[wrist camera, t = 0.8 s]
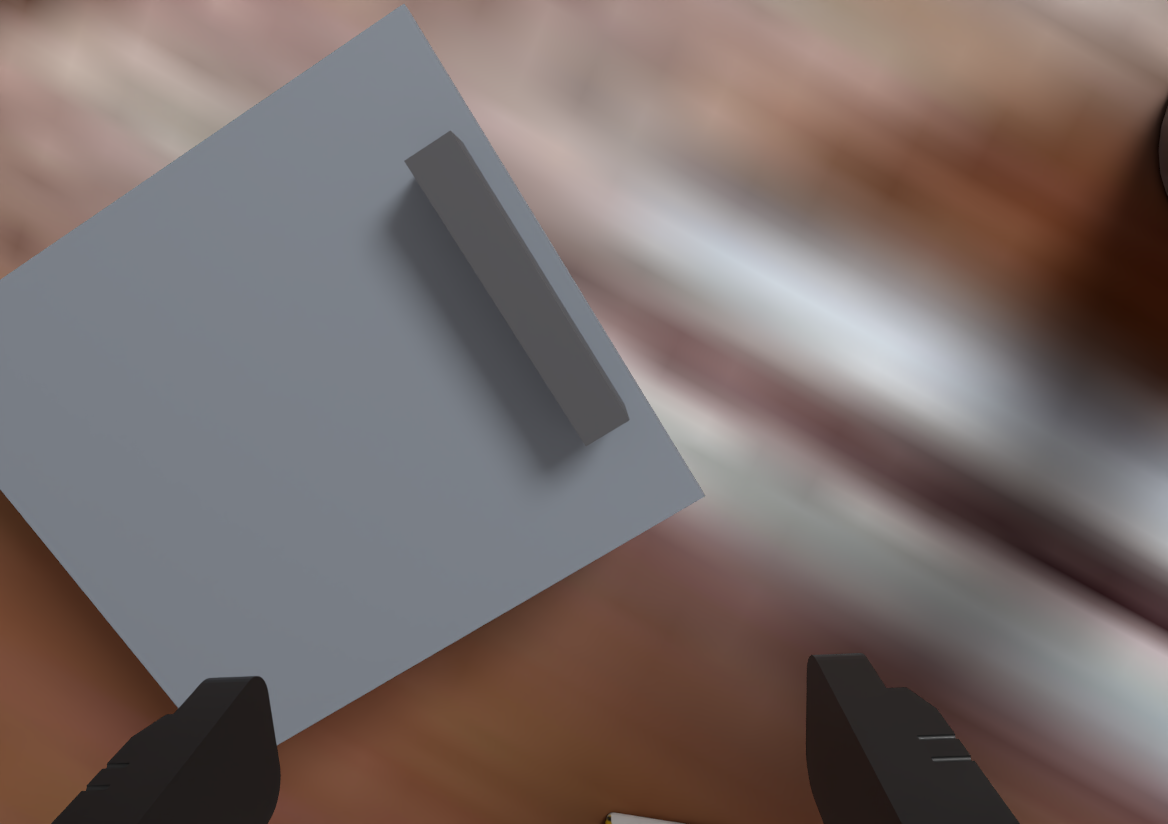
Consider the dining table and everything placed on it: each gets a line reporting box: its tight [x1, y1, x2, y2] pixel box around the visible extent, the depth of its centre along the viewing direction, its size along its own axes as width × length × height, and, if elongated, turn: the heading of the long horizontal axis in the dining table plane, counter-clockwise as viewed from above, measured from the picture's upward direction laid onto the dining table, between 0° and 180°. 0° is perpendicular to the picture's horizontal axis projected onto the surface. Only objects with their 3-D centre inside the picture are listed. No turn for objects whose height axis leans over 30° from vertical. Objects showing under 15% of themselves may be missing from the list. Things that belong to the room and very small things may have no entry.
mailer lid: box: [0, 4, 705, 745], centre depth 26 cm, size 21×19×3 cm
